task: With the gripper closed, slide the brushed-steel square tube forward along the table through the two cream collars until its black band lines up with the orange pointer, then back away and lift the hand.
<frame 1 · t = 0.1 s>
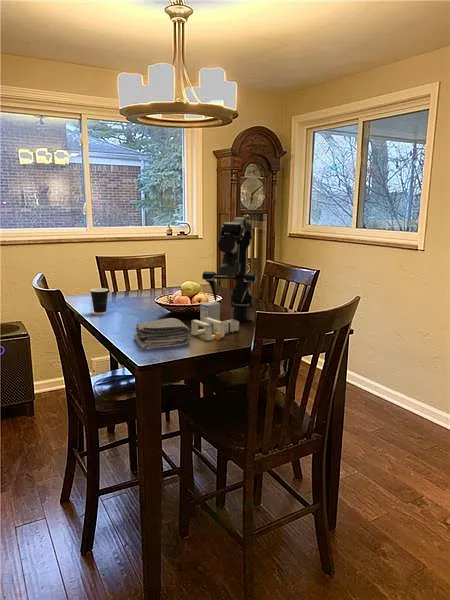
hand: (228, 301, 161), 15 cm above the table, tool pointing down, fingers open, 9 cm apart
medicine box: (210, 324, 192), on the table
dixie cup: (100, 313, 207), on the table
towel: (161, 342, 165), on the table
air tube: (225, 331, 179), on the table
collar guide: (207, 335, 173), on the table
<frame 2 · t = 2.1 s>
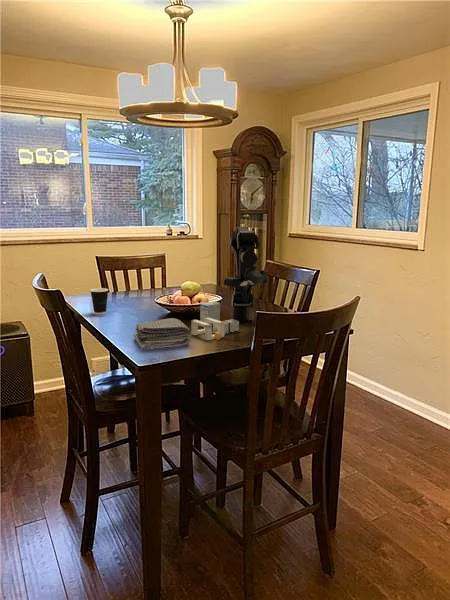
hand: (245, 301, 183), 11 cm above the table, tool pointing down, fingers closed
nothing on the table moved.
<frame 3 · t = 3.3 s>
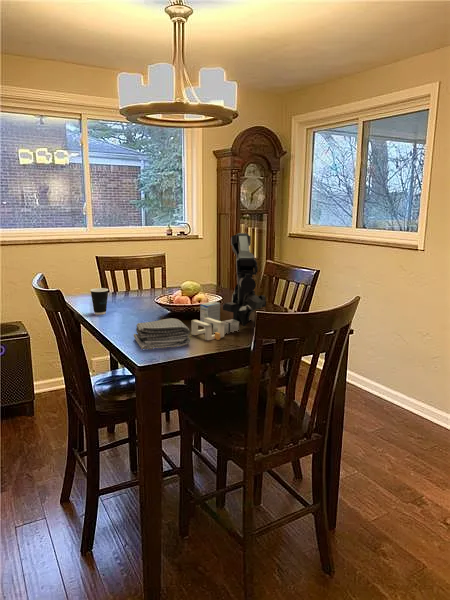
hand: (244, 325, 185), 1 cm above the table, tool pointing down, fingers closed
nothing on the table moved.
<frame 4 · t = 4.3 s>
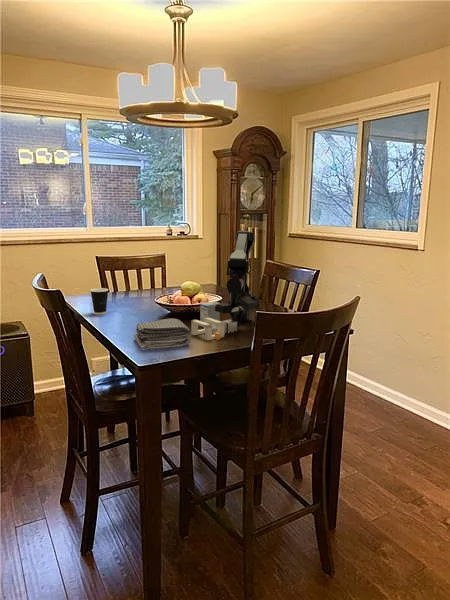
hand: (237, 326, 182), 1 cm above the table, tool pointing down, fingers closed
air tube: (223, 332, 178), on the table, touching gripper
everything else where it was.
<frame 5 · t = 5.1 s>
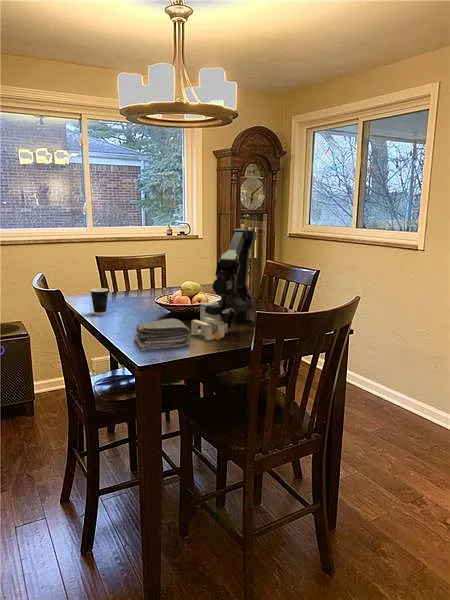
hand: (227, 328, 179), 1 cm above the table, tool pointing down, fingers closed
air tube: (214, 334, 175), on the table, touching gripper
everything else where it was.
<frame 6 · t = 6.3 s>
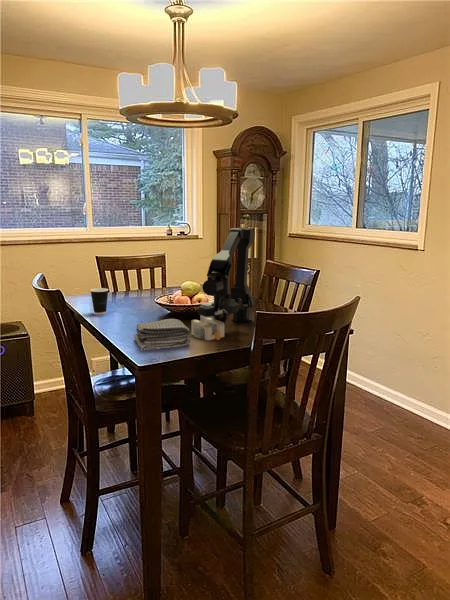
hand: (221, 330, 177), 1 cm above the table, tool pointing down, fingers closed
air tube: (207, 335, 173), on the table, touching gripper
everything else where it was.
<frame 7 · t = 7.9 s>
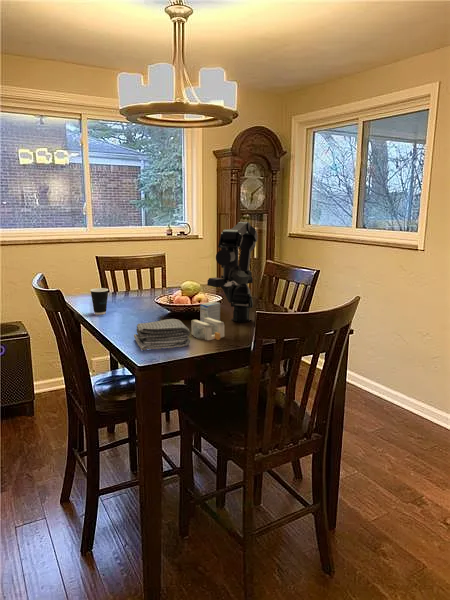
hand: (230, 302, 178), 12 cm above the table, tool pointing down, fingers closed
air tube: (207, 335, 173), on the table
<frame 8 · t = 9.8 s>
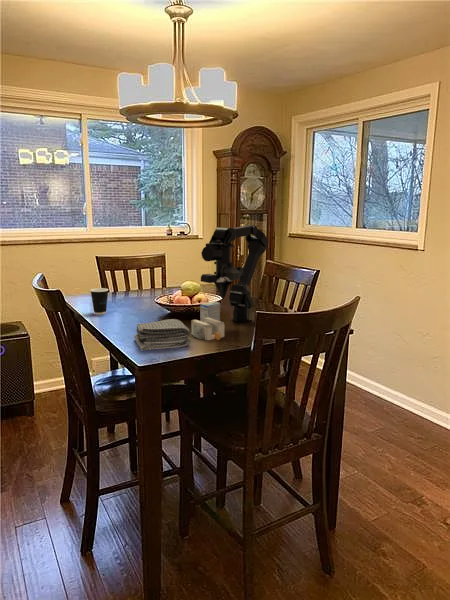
hand: (222, 297, 184), 12 cm above the table, tool pointing down, fingers closed
at the end: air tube 0.1 cm off-centre on the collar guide, point 0.0 cm above the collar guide's base; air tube tilted 0°; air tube moved 9.1 cm from its start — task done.
